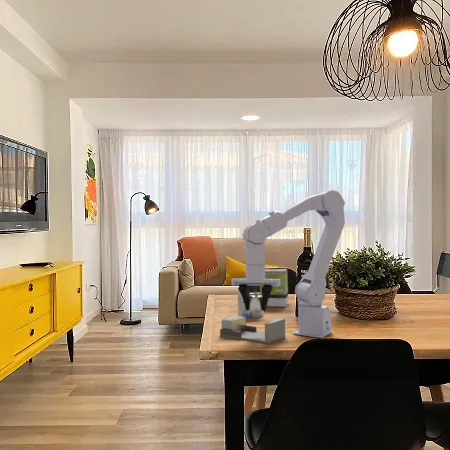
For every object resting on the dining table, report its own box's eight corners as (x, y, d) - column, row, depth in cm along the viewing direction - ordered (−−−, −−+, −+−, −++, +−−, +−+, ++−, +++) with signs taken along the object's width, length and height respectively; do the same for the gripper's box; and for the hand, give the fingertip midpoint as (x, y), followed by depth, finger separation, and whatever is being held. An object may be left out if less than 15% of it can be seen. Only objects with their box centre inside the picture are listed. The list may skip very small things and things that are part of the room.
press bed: (285, 337, 137) (285, 318, 137) (269, 344, 130) (269, 324, 130) (236, 330, 148) (236, 312, 148) (219, 336, 140) (219, 317, 140)
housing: (264, 315, 140) (264, 291, 140) (262, 317, 135) (262, 293, 136) (250, 314, 141) (249, 291, 141) (247, 317, 136) (247, 293, 136)
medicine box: (241, 318, 166) (241, 294, 166) (238, 316, 170) (237, 292, 170) (262, 317, 168) (262, 293, 168) (258, 315, 172) (257, 291, 172)
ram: (245, 329, 144) (245, 316, 144) (232, 334, 139) (232, 320, 139) (235, 328, 147) (234, 315, 147) (221, 332, 141) (221, 319, 141)
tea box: (288, 303, 196) (287, 268, 196) (285, 307, 187) (285, 270, 187) (253, 302, 200) (253, 268, 200) (249, 306, 190) (248, 270, 190)
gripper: (281, 263, 140) (282, 308, 140) (235, 263, 144) (236, 306, 144) (277, 265, 133) (278, 312, 133) (228, 265, 137) (229, 310, 137)
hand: (256, 310), depth 138 cm, fingers closed on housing, 4 cm apart
